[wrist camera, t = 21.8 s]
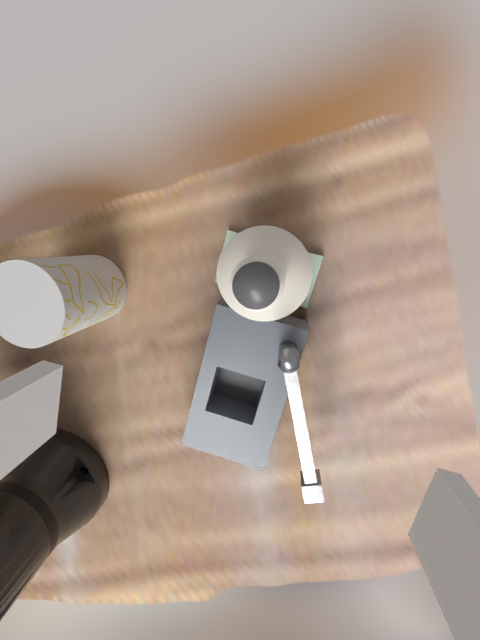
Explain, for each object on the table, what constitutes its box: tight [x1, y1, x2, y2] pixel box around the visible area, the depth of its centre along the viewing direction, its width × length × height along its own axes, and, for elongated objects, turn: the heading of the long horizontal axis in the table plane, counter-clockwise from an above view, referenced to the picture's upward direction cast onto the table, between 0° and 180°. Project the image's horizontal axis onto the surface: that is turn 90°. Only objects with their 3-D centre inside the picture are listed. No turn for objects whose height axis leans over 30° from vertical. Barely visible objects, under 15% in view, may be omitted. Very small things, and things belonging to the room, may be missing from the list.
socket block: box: [181, 298, 309, 471], centre depth 39 cm, size 10×18×5 cm, turn 165°
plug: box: [217, 225, 312, 322], centre depth 31 cm, size 9×9×14 cm
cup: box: [0, 255, 127, 348], centre depth 36 cm, size 8×8×12 cm
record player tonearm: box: [278, 341, 324, 504], centre depth 34 cm, size 2×16×4 cm, turn 12°
